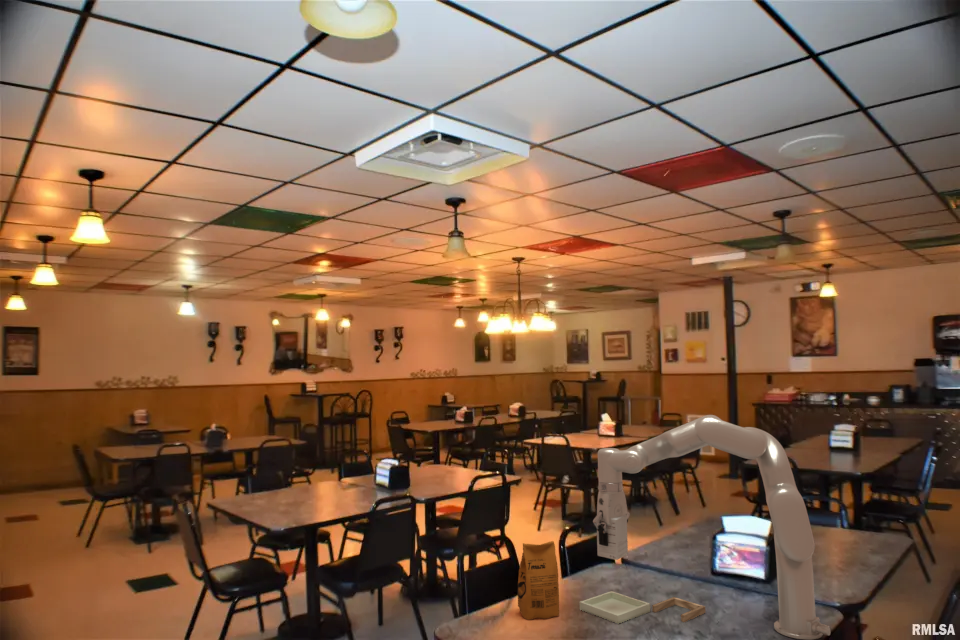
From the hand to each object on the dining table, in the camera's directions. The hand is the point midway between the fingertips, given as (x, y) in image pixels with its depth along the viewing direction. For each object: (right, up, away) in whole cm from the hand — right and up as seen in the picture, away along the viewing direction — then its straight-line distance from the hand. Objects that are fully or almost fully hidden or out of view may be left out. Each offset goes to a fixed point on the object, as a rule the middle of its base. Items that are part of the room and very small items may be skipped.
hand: (612, 542), depth 204 cm
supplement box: (0, -4, 0) cm, 4 cm away
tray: (0, -21, -2) cm, 21 cm away
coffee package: (-24, -22, -3) cm, 33 cm away
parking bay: (+20, -21, -4) cm, 29 cm away
